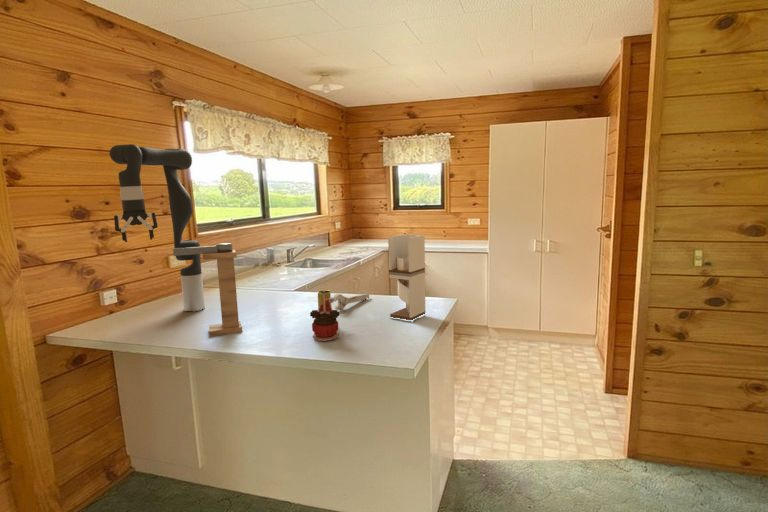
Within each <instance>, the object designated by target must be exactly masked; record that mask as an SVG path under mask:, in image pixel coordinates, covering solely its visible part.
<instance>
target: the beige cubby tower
mask: <svg viewBox="0 0 768 512" xmlns="http://www.w3.org/2000/svg"><path fill="white" fill-rule="evenodd" d="M387 239H388V240H387V243H388V248H387V249H388V274H389V275H388V278H389V279H396V281H397V296H398V298H399V299H400V301H402V302H403V303H405V307H404V308H401V309H398V310H397V311H395V312H392V313H390V314H389V316H390V317H393V318H400V319H406V320H413V319H415V318H417V317H419V316H421V315H423V314H425V313H426V262H425V261H426V259H425V258H426V256H425V255H426V253H425V251H426V250H425V248H426V247H425V246H426V245H425V242H426V241H425V234H424V235H423V234H405V233H404V234H397V235H393V236H388V238H387ZM390 317H389V318H390Z"/></svg>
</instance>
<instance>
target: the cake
mask: <svg viewBox="0 0 768 512" xmlns="http://www.w3.org/2000/svg"><path fill="white" fill-rule="evenodd" d="M333 297H334V296H333ZM333 297H331V298H330V299H327V300H325V291H323V303H322V304H321V305H320V308H319V311H318V309H312V311H310V313H309V315H310V317H311V318H312V319H313V322H312V323H311V328H312V331H313V335H312V338H313V339H314V340H316V341H320V342H325V341H327V340H328V341H332V340H335V339H336V338H338V337H339V333H338V330H339V321H338V320H337V319H338V318H339V316H340V311H338V310H337V309H333V308H331V306H332V305H331V306H330V303H331V304H333V303H335V301H334V298H333Z"/></svg>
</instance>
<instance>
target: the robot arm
mask: <svg viewBox="0 0 768 512" xmlns="http://www.w3.org/2000/svg"><path fill="white" fill-rule="evenodd" d="M109 157H110V159H111V161H112V162H114V163H115V164H117V165H126V168H125V169H124V170H121V171H119V173H118V182H119V183H118V184H119V190H120V191H119V192H120V193H119V194H120V200H121V207H122V215H121V214H120V215H119V214H115V215H114V216H113V220H114V230H115V232H120V233H121V239H122V241H124V243H127V242H128V237H127V231H126V230H127V229H128V227H129V225H130V226H141V225H144V226H145V227H146V228H147V229H148V233H149V240H150V241H151V240H153V239H154V237H155V236H154V234H155V233H154V229H157V228H158V222H157V216H156V213H155V212H151V213H150V212H149V213H148V212H147V211H146V206H145V205H146V203H145V195H144V192H143V191H144V190H143V188H142V184H141V171H142V170H141V169H142V166H162V167H163V172H164V176H165V181H166V185H167V186H166V187H167V192H168V200H169V201H168V202H169V211H170V216H171V223H172V231H173V248H186V247H201V245H200V242H199V241H198V240H193V239H192V240H183V234H184V231H185V229H186V227H187V225H188V223H189V222H190V219H191V217H192V215H193V204H192V198H191V195H190V194H189V192H188V191H187V189H186V188H185V187H184V186H183V184H182V183H181V181H180V177H179V174H178V171H184V170H185V171H186V170H188V169H189V168H191V166H192V164H193V158H192V155H191V153H190V152H189V151H188V150H187V149H184V148H165V149H160V148H154V147H147V146H138V145H136V144H132V143H131V144H130V143H129V144H115V145H113V146H111V148H110V149H109ZM148 217H149V218H150V219H152V222H153V225H151V224H150V223H149V222H148V221H146V220H147V218H148ZM122 219H123V220H124V221H125V223H124V225H123V227H122V228H121V227H120V224H119V223H120V221H121V220H122ZM175 259H176V260H177V261H180V262H181V261H183V262H185V261H192V263H191V264H189V265H187V266H185V267H182V268H180V270H179V272H180V273H179V274H180V282H181V283H180V284H181V292H182V301H183V303H182V304H183V311H184V312H186V311H193V312H198V311H202V309H203V310H205V309H206V307H205V306H206V305H205V294H204V285H203V283H204V282H203V272H202V263H201V261H202V260H201V254H192V255H178V256H175Z"/></svg>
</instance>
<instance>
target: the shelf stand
mask: <svg viewBox="0 0 768 512" xmlns="http://www.w3.org/2000/svg"><path fill="white" fill-rule="evenodd" d="M235 258H237V251H236V249H233V251H232V252H226V253H206V254H202V260H203V261H208V260H216V265H217V277H218V289H219V291H218V292H219V301H220V303H219V304H220V311H221V313H220V314H221V323H217V324H216V323H214V324H209V325H208V328H209V329H208V331H209V337H216V336H217V337H218V336H223V335H225V336H226V335H230V334H236V333H237V334H238V333H243V326H242V323H241V321H239V308H238V295H237V284H236V270H235V261H234V260H235Z"/></svg>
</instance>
